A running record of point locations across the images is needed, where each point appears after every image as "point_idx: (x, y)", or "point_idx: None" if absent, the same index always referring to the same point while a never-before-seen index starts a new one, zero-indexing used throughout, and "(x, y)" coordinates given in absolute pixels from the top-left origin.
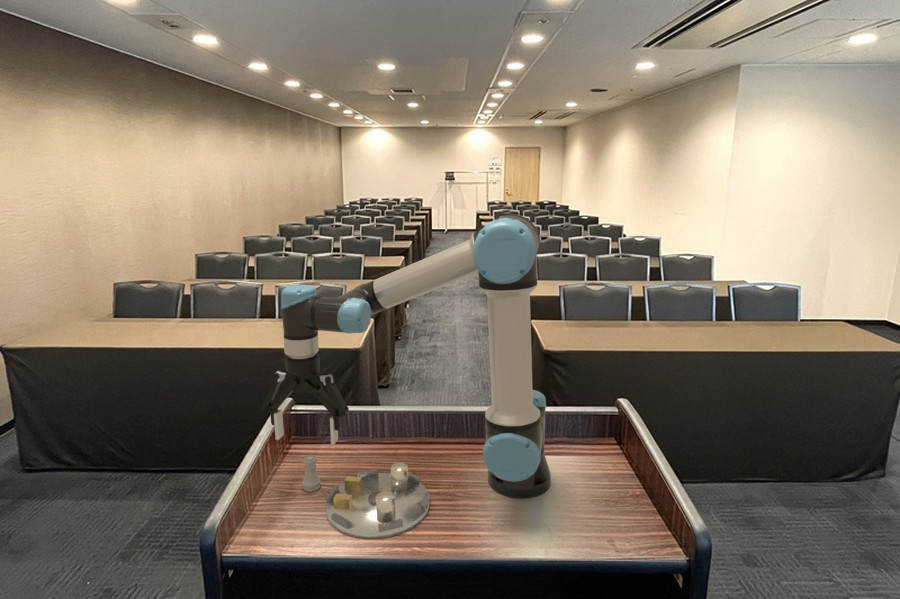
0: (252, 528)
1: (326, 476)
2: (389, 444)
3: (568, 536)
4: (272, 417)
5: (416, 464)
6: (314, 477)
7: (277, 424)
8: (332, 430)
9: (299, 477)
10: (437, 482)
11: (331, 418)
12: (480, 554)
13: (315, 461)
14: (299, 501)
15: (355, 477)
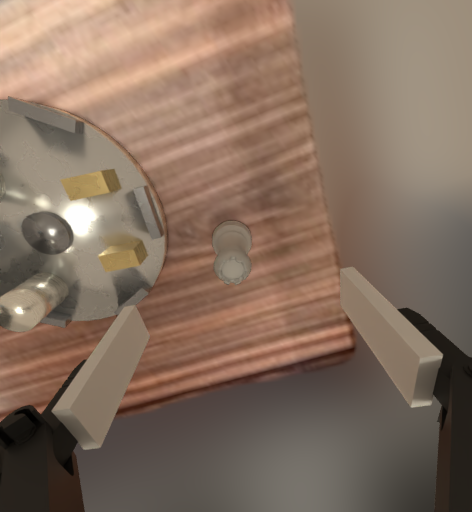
0: (266, 36)
1: None
2: (181, 390)
3: None
4: (434, 338)
5: None
6: (219, 245)
7: (377, 310)
8: (98, 349)
9: (277, 259)
10: None
11: (61, 410)
12: None
13: (214, 267)
14: (225, 184)
15: (118, 267)
